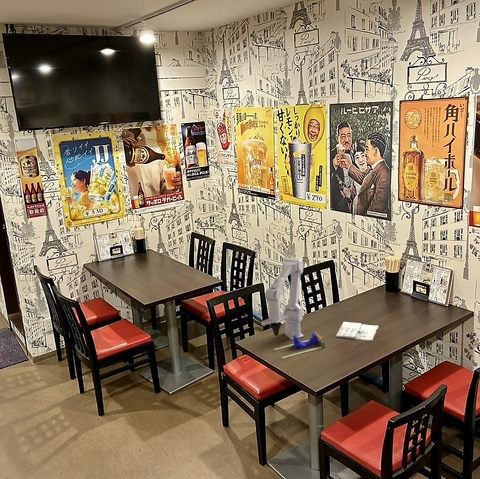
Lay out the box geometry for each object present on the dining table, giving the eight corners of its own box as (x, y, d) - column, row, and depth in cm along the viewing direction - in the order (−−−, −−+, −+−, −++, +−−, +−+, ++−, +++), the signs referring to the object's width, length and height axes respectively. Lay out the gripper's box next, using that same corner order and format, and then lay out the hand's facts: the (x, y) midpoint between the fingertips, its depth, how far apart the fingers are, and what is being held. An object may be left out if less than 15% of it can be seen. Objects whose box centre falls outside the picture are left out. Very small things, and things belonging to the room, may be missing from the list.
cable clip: (295, 349, 260) (294, 339, 259) (293, 345, 264) (293, 335, 263) (317, 346, 261) (317, 336, 259) (315, 343, 265) (315, 332, 264)
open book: (344, 323, 286) (344, 320, 285) (379, 327, 277) (379, 324, 276) (335, 338, 270) (335, 334, 269) (372, 342, 261) (372, 339, 260)
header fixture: (273, 349, 262) (273, 341, 260) (314, 339, 269) (314, 330, 268) (282, 358, 252) (281, 350, 250) (324, 347, 259) (324, 338, 258)
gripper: (264, 316, 248) (266, 341, 251) (290, 310, 253) (292, 334, 256) (259, 312, 254) (261, 336, 258) (284, 306, 259) (286, 329, 262)
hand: (276, 335), depth 257 cm, fingers closed
